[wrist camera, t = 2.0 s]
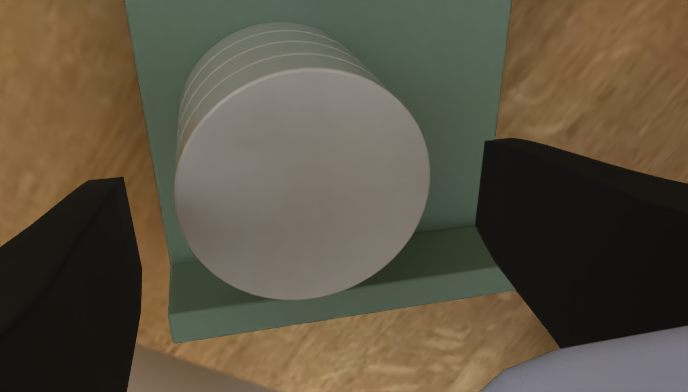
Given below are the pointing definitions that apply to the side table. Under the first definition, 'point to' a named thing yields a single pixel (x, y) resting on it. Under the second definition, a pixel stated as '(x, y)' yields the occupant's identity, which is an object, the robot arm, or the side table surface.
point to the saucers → (295, 164)
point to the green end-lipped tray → (404, 82)
